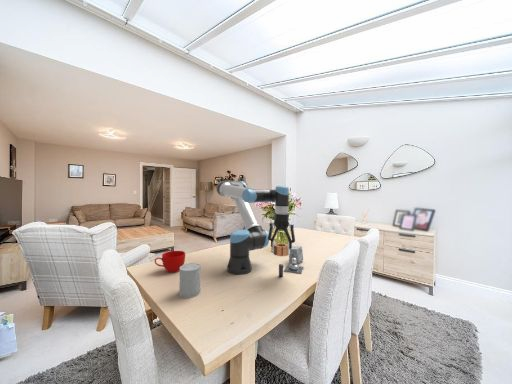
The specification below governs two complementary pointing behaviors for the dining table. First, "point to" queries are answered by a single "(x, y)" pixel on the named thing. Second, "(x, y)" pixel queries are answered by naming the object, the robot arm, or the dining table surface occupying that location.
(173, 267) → the ceramic cup
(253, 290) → the dining table surface
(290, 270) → the hub
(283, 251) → the collar
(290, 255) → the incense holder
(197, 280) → the grey cylinder
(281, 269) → the stand rod
